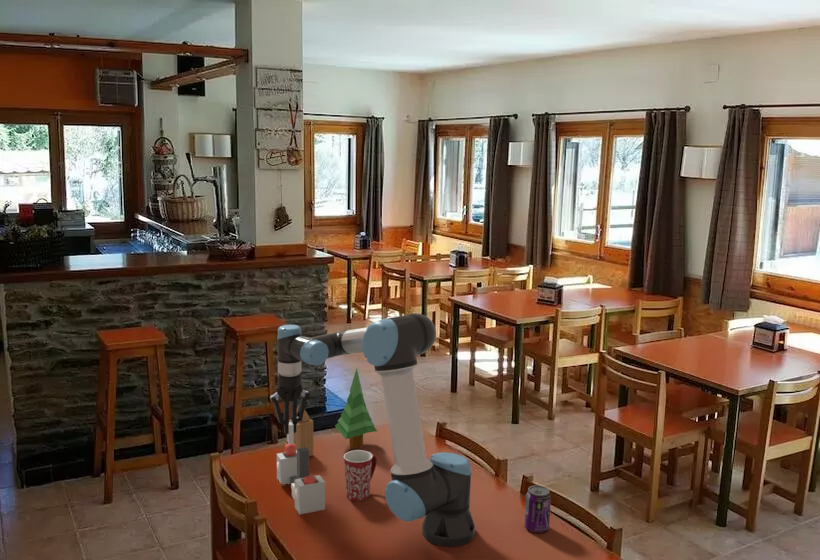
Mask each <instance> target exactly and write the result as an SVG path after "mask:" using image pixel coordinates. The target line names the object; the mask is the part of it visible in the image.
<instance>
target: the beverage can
mask: <svg viewBox="0 0 820 560" xmlns="http://www.w3.org/2000/svg"><path fill="white" fill-rule="evenodd" d="M550 492H551V491H550V489H549V488H548V487H546V486H543V485H531V486H529V487H528V488H527V492H526V495H525V511H524V512H525V513H524V527H525V528H526V529H527V530H528V531H530V530H531V532H532V531H534V532H533V533H536V532H541V533H545V532H547V531H549V529H550V518H551V505H552V504H551V503H552V500H551V499H552V496H551V493H550ZM544 531H545V532H544Z"/></svg>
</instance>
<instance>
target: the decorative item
mask: <svg viewBox="0 0 820 560" xmlns="http://www.w3.org/2000/svg"><path fill="white" fill-rule="evenodd" d="M299 404H300V402H299ZM299 404H298V405H297V412H298V408H299ZM289 422H292V421H291V418H289ZM294 444H296V450H297V449H298V448H304V447H306V448H307V449H308V450H309V457H312V456H313V455H314V420H313V419H311V418H310V416H309V414H308V413H307V411H306V408H305V409H304V414H303V418H302V421H299V422H297V425H296V433H294Z"/></svg>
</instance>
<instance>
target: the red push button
mask: <svg viewBox="0 0 820 560" xmlns="http://www.w3.org/2000/svg"><path fill="white" fill-rule="evenodd" d="M284 452H285V455H286V456H295V455H296V444H289V443H286V444H285V445H284Z"/></svg>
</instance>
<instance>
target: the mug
mask: <svg viewBox="0 0 820 560" xmlns="http://www.w3.org/2000/svg"><path fill="white" fill-rule="evenodd" d="M343 460H344V461H343V462H344V474H345V478H344V479H345V493H346V498H347V499H348V500H349V501H355V502H360V501H365V500H367V499H368V498H369V497H370V493H371V492H370V491H371V480H372V478H373V476H374V473H375V470H376V467H377V461H378V460H377V456H376V455H374V454H373V453H372V452H370V451H367V450H364V449H362V450H361V449H355V450H350V451H348V452H345V453H344V455H343Z"/></svg>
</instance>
